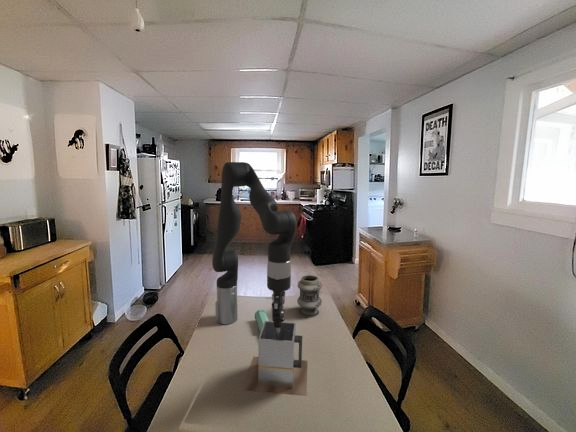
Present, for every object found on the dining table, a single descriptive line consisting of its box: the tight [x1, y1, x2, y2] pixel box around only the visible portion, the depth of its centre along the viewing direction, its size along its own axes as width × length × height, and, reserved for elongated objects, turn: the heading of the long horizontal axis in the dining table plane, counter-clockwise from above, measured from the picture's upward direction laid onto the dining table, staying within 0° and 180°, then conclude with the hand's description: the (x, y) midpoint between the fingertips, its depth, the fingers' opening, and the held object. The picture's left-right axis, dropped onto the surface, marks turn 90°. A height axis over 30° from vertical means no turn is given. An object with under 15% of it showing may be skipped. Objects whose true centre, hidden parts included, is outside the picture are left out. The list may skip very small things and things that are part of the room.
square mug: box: [257, 320, 303, 388], centre depth 92 cm, size 14×11×16 cm
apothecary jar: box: [297, 274, 323, 318], centre depth 137 cm, size 12×12×18 cm
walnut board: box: [242, 355, 309, 397], centre depth 93 cm, size 20×16×1 cm
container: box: [254, 309, 270, 333], centre depth 117 cm, size 6×6×25 cm
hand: (278, 323), depth 90 cm, fingers closed on plunger, 4 cm apart
